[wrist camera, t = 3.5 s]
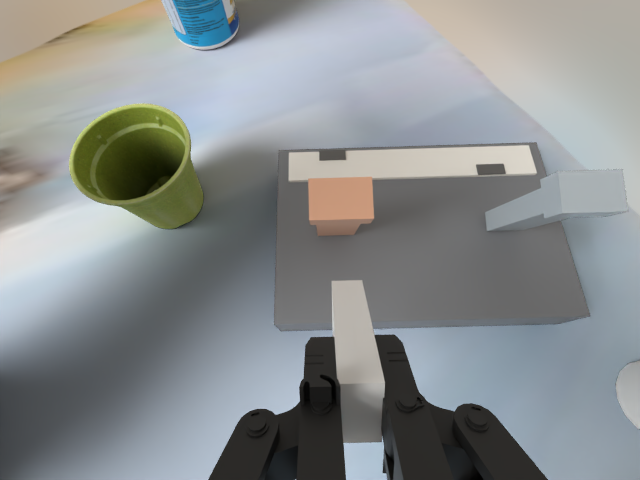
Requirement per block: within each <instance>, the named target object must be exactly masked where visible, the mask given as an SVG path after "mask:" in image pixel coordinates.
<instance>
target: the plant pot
mask: <svg viewBox="0 0 640 480" xmlns="http://www.w3.org/2000/svg"><path fill="white" fill-rule="evenodd" d="M190 151H191V139H190V134H189V131H188V129H187V127H186V125H185V123H184V122H183V121H182V119H181V118H180V117H179V116H178V115H176V114H175V113H174V112H172V111H170V110H169V109H166V108H164V107H161V106H158V105H153V104H132V105H126V106H122V107H119V108H116V109H113V110H111V111H109V112H106V113H105V114H103V115H101V116H100V117H98V118H97V119H95V120H94V121H92V122H91V123H90V124H89V125H88V126H87V127H86V128H85V129H84V130H83V131H82V132H81V133H80V135H79V136H78V138H77V140H76V142H75V144H74V146H73V148H72V150H71V154H70V161H69V169H70V175H71V177H72V180H73V182H74V184H75V185H76V187H77V188H78V189H79V190H80V191H81V192H82V193H83V194H84V195H86V196H87V197H89V198H90V199H92V200H94V201H97V202H99V203H103V204H107V205H115V206H119V207H122V208H124V209H126V210H128V211H129V212H131V213H133V214H135V215H137V216H138V217H140V218H142V219H144V220H145V221H147V222H149V223H151V224H152V225H154V226H156V227H159V228H163V229H174V228H177V227H179V226H181V225H183V224H185V223H188V222H190V221H192V220H193V219H194V218H195V217H196V216H197V214H198V213H199V212H200V210H201V208H202V205H203V191H202V188H201V185H200V183H199V180H198V178H197V175H196V172H195V170H194V167H193V164H192V161H191V154H190ZM154 190H156V191H154ZM153 191H154V192H153Z"/></svg>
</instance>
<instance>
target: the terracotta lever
mask: <svg viewBox="0 0 640 480" xmlns="http://www.w3.org/2000/svg"><path fill="white" fill-rule="evenodd" d="M308 189H309V222H310V225H316V227H317V234H318V236H332V235H354V234H355V232H356V231H357V229H358V227H359V226H360V224H368V223H371V222H372V221H373V219H374V207H373V186H372V177H344V178H310V179H308Z"/></svg>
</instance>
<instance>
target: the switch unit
mask: <svg viewBox="0 0 640 480" xmlns="http://www.w3.org/2000/svg"><path fill="white" fill-rule="evenodd" d="M344 177H372V186H373V207H374V219H373V221H372V222H371V223H368V224H360V226H359V227H358V229H357V231H356V232H355V234H354V235H332V236H318V234H317V227H316V225H310V222H309V189H308V179H310V178H344ZM544 177H547V175H546V172H545V168H544V165H543V162H542V159H541V155H540V152H539V149H538V146H537V143H536V142H534V143H502V144H469V145H436V146H403V147H371V148H338V149H305V150H279V155H278V192H277V230H276V267H275V304H274V325H275V326H276V327H277V328H278V329H279V330H280V331H303V330H333V329H332V281H346V280H362V282H363V287H364V291H365V296H366V300H367V305H368V309H369V313H370V318H371V322H372V327H373V329H382V328H422V327H461V326H500V325H540V324H560V323H564V322H568V321H573V320H577V319H581V318H585V317H589V316H590V314H589V310H588V307H587V304H586V301H585V297H584V294H583V291H582V288H581V285H580V281H579V278H578V275H577V272H576V268H575V265H574V262H573V259H572V256H571V252H570V249H569V246H568V243H567V239H566V236H565V233H564V230H563V226H562V223H561V220H560V221H556V222H552V223H549V224H545V225H541V226H537V227H533V228H529V229H526V230H510V231H487V228H486V216H485V212H487V211H489V210H491V209H494V208H496V207H498V206H501V205H503V204H505V203H507V202H510V201H512V200H514V199H517V198H519V197H521V196H524V195H526V194H528V193H530V192H533V191H535V190H537V189H540V188H541V182H540V179H542V178H544Z"/></svg>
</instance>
